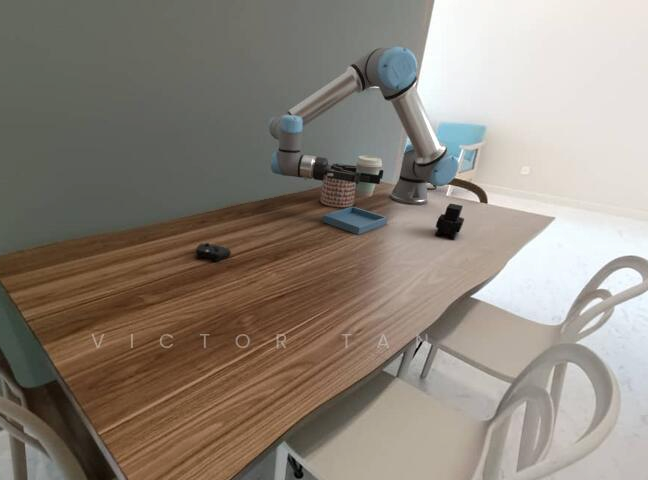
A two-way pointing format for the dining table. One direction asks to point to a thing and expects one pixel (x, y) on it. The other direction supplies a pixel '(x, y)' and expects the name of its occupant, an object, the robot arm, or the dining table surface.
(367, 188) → the coffee cup
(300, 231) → the dining table surface
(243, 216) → the dining table surface
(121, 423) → the dining table surface
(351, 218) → the tray
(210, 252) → the game controller
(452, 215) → the toy
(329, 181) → the planter
